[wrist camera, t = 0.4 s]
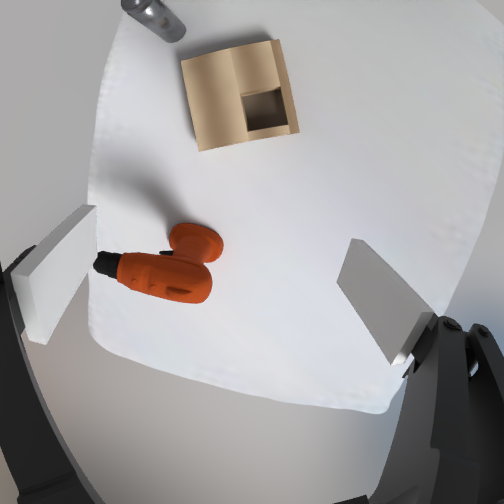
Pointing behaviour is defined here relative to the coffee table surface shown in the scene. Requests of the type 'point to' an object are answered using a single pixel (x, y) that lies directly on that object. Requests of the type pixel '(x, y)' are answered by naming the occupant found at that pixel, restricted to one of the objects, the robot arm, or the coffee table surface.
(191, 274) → the toy drill
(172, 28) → the metal round-headed rod
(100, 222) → the coffee table surface
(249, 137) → the block
